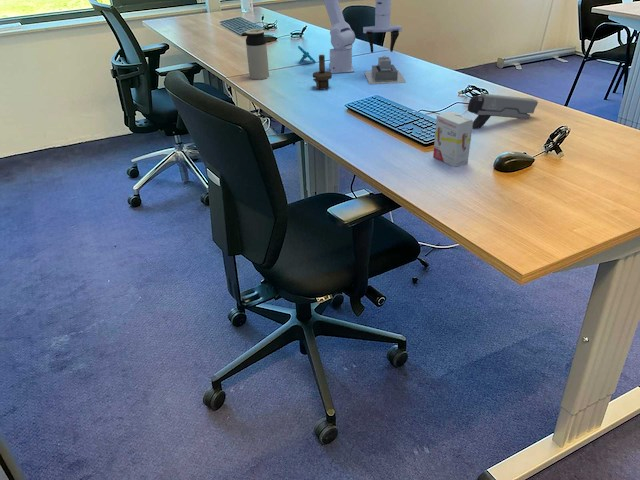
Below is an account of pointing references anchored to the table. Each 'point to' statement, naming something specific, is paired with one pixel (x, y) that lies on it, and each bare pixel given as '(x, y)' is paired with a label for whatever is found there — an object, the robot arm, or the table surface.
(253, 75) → the travel mug
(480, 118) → the gun
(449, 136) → the ink box
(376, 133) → the table surface
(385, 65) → the servo
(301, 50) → the teal angled stand
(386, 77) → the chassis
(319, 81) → the industrial component
